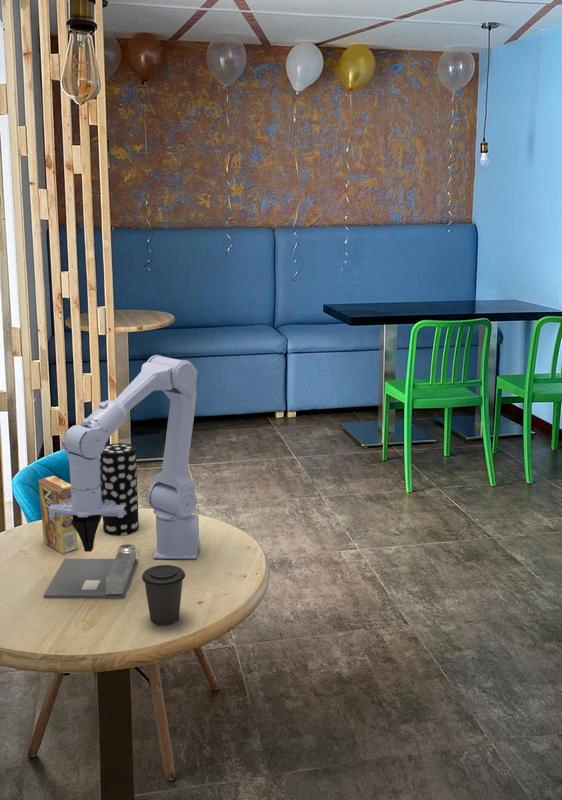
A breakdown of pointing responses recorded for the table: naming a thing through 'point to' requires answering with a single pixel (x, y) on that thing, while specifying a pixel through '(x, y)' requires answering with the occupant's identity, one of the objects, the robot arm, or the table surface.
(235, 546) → the table surface
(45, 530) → the candy box
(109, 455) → the spotted tube
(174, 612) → the coffee cup
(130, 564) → the swing arm
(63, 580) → the label plate
